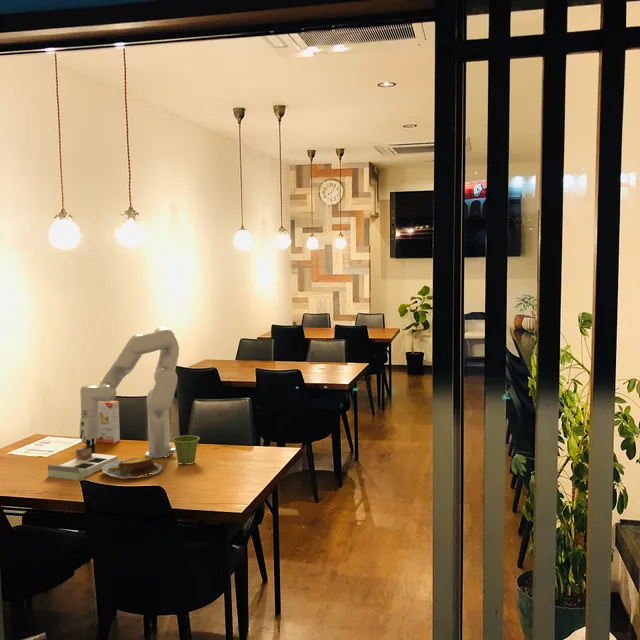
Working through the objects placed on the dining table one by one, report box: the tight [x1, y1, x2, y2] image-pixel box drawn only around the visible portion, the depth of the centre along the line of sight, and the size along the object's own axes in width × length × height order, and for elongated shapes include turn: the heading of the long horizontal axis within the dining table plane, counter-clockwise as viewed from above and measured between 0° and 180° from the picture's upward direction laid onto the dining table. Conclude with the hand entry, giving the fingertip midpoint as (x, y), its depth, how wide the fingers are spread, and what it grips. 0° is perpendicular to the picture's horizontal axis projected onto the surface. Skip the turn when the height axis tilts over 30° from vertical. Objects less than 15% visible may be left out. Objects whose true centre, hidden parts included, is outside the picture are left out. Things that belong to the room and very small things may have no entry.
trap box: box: [47, 453, 119, 481], centre depth 288 cm, size 15×26×5 cm, turn 160°
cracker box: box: [96, 400, 121, 445], centre depth 334 cm, size 14×6×21 cm, turn 73°
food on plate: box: [101, 456, 163, 480], centre depth 283 cm, size 25×25×7 cm
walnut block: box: [75, 446, 92, 460], centre depth 294 cm, size 4×4×4 cm
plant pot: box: [172, 434, 201, 464], centre depth 296 cm, size 12×12×11 cm
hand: (90, 453), depth 298 cm, fingers closed
